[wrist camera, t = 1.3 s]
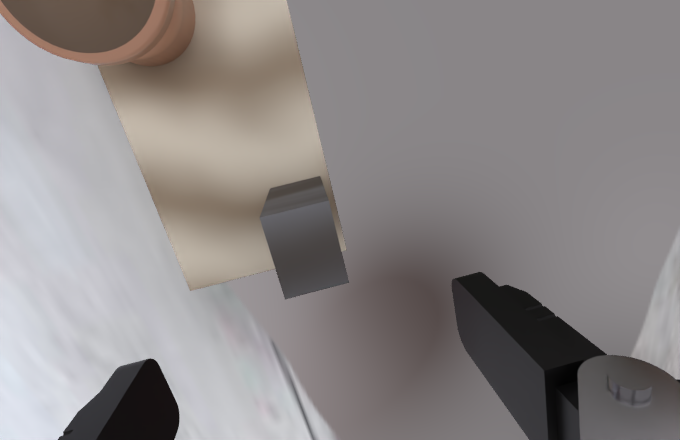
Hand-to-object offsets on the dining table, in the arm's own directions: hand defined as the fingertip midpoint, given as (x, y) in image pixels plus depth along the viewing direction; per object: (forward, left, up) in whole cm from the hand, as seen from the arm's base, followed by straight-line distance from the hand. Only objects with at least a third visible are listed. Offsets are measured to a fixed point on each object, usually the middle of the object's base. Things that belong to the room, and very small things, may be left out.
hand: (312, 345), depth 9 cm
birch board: (-9, -3, -14) cm, 17 cm away
